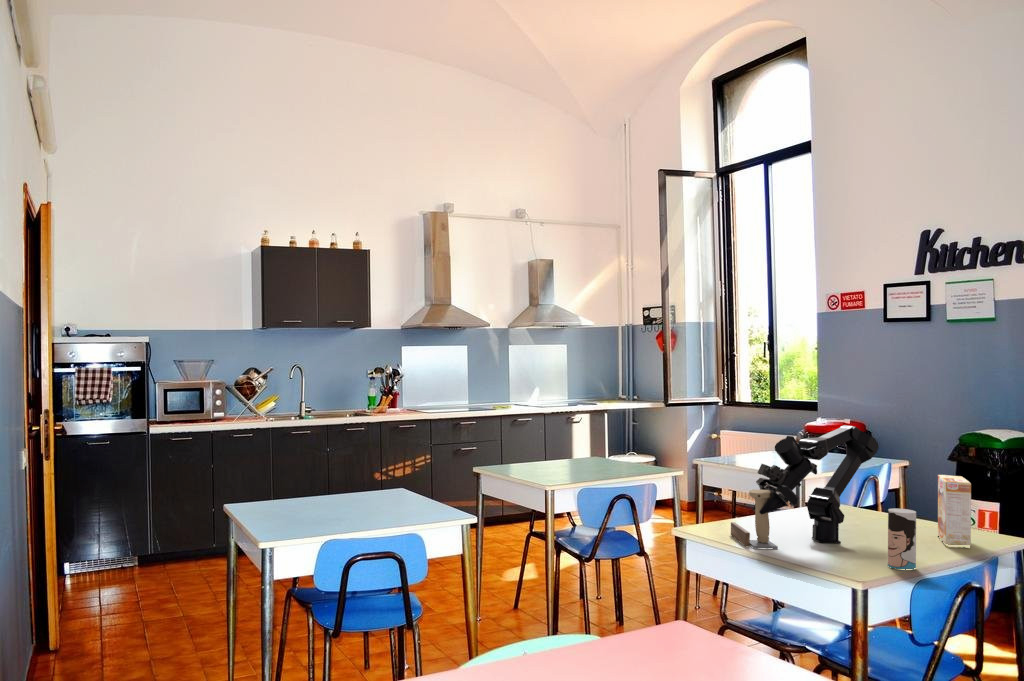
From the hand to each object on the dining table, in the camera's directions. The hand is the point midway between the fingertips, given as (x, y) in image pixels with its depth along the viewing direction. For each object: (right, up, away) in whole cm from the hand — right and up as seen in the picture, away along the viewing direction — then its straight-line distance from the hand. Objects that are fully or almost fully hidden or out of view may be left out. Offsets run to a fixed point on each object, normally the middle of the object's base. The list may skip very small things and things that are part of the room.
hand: (757, 511), depth 241 cm
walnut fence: (-3, -10, +6) cm, 12 cm away
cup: (+32, -10, -22) cm, 40 cm away
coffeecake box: (+62, -11, +8) cm, 64 cm away
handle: (+2, -9, +1) cm, 10 cm away
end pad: (+1, -10, 0) cm, 10 cm away
